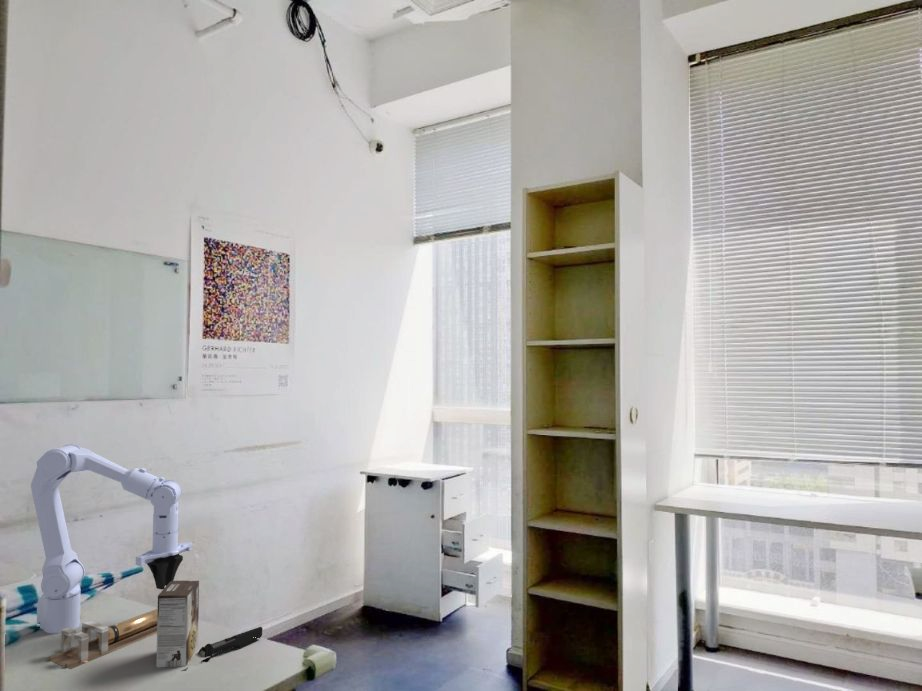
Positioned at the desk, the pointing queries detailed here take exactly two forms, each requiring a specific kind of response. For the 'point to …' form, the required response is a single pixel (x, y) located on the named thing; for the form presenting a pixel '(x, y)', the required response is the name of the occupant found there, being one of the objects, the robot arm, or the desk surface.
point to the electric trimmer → (230, 643)
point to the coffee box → (177, 623)
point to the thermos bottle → (131, 626)
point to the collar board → (91, 644)
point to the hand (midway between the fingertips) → (164, 587)
